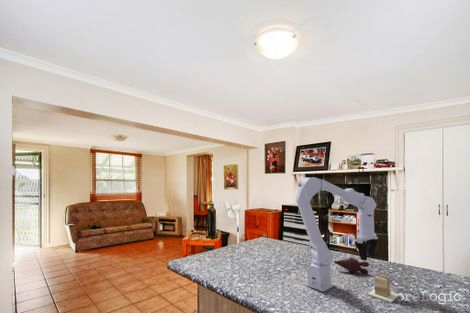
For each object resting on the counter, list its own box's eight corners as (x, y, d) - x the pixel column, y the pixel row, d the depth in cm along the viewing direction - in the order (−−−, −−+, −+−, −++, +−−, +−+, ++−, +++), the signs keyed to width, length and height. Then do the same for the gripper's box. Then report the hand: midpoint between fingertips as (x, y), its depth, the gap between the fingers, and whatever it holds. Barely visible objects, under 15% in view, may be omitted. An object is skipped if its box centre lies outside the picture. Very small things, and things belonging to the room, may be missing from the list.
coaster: (391, 303, 90) (391, 301, 90) (367, 295, 96) (367, 293, 96) (399, 296, 95) (399, 294, 95) (376, 289, 101) (376, 287, 101)
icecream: (334, 259, 119) (370, 266, 114) (334, 251, 126) (368, 257, 121) (333, 272, 120) (369, 280, 115) (333, 264, 127) (367, 270, 122)
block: (386, 297, 93) (386, 280, 94) (375, 293, 96) (374, 277, 97) (390, 294, 96) (390, 277, 96) (379, 290, 99) (378, 274, 99)
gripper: (369, 228, 101) (370, 264, 100) (383, 224, 110) (384, 257, 109) (351, 225, 106) (352, 259, 105) (366, 222, 116) (367, 253, 114)
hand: (367, 258), depth 107 cm, fingers open, 7 cm apart
